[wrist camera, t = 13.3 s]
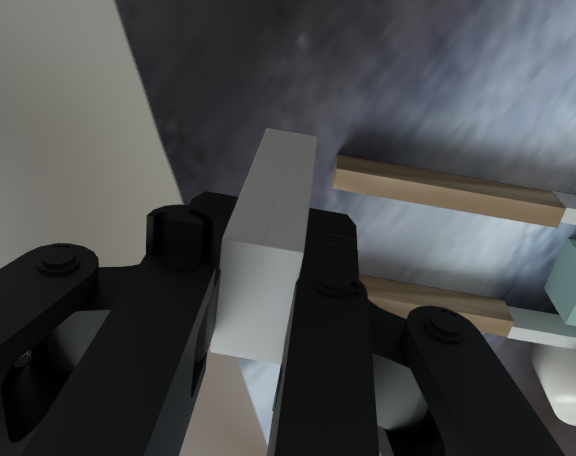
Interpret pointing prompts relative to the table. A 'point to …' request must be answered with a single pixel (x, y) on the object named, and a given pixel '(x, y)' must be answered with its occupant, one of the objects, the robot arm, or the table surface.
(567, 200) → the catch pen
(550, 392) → the white rounded capsule
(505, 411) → the robot arm
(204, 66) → the table surface
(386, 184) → the guide channel
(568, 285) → the pale teal block
